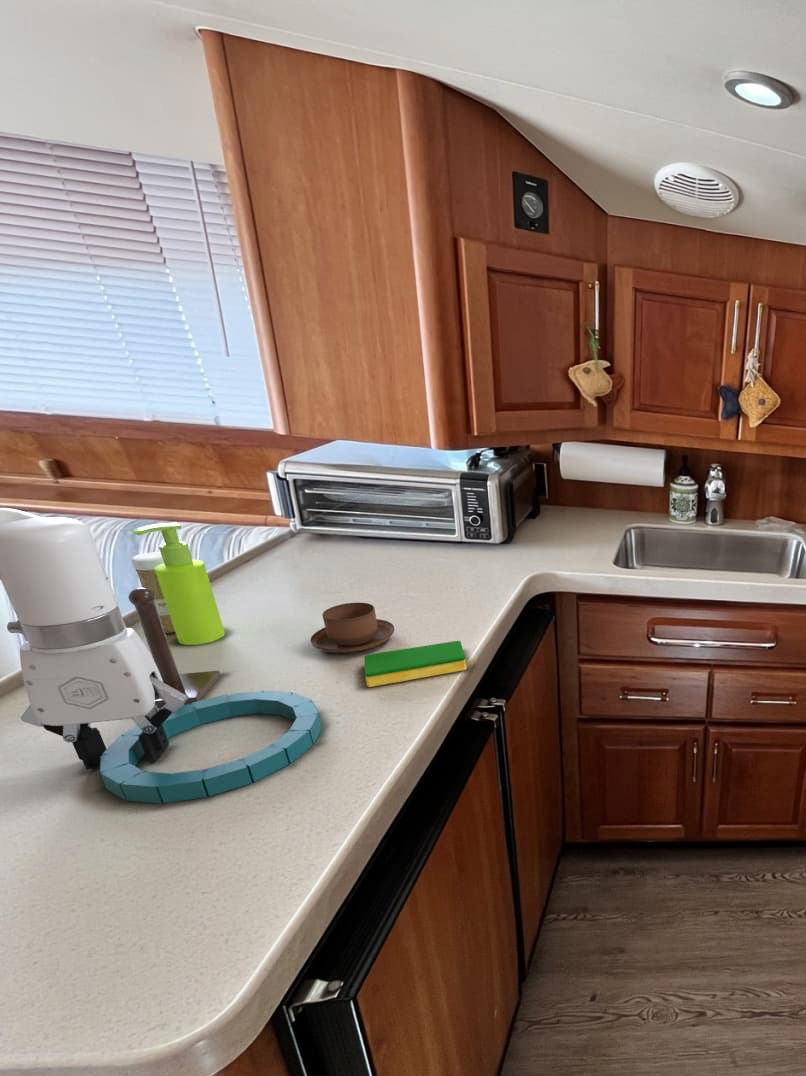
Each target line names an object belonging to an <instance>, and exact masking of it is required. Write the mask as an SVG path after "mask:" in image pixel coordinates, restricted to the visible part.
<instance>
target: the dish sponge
mask: <svg viewBox="0 0 806 1076" xmlns="http://www.w3.org/2000/svg"><path fill="white" fill-rule="evenodd" d="M466 670H467V660H466V655H465V652H464V649H463V645H462V641H461V640H454V641H447V642H446V641H445V642H441V643H434V644H427V645H421V646H416V647H409V648H403V649H396V650H390V651H384V652H377V653H370V654H366V655H364V677H365V683H366V686H367V687H369V688H371V687H377V686H378V687H379V686H383V685H388V684H395V683H400V682H406V681H411V680H417V679H423V678H427V677H433V676H439V675H443V674H444V675H445V674H451V673H455V672H460V671H466Z"/></svg>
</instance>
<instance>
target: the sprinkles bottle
mask: <svg viewBox="0 0 806 1076" xmlns="http://www.w3.org/2000/svg"><path fill="white" fill-rule="evenodd" d="M131 562H132V566H133V569H134V570H135V572H137V577H138V579H139V582H140V588H147V589H150V590H152V591H153V592H154V593H155V596H156V599H155V601H154V602H155V605H156V608H157V611H158V614H159V617H160V619H161V622H162V625H163V628H164V631H165V634H173V633H176V632H175V629H174V626H173V623H172V620H171V617H170V614H169V611H168V608H167V605H166V602H165V599H164V596H163V593H162V590H161V587H160V584H159V581H158V578H157V575H156V572H155V567H156V566H158V565H160V564H163V563H164V562H163V559H162V555H161V552H160V551H151V552H144V553H139V554H137V555H136V554H135V555H134V556H132V558H131Z"/></svg>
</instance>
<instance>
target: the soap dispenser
mask: <svg viewBox="0 0 806 1076" xmlns="http://www.w3.org/2000/svg"><path fill="white" fill-rule="evenodd" d="M177 530H182V526H181V524H179V523H178V522H165V523H155V524H149V525H145V526H141V527H138V528H135V529H132V530H131V532H132V533H133V534H134V535H137V536H142V535H144V534H148V533H154V532H161V535H162V538H163V541H164V542H163V543H161V544H159V546H158V548H159V552H161V555H162V559H163V562H164V563H163V564H160V565H158V566H156V567H155V572H156V575H157V578H158V581H159V584H160V587H161V590H162V593H163V596H164V599H165V602H166V605H167V608H168V611H169V614H170V617H171V620H172V623H173V626H174V629H175V632H174V633H175V635H176V638H177V641H178V643H179V644H181V645H184V646H197V645H203V644H208V643H212V642H215V641H217V640H220V639H221V638H223V637H224V636H225V635H226V633H225V628H224V626H223V622H222V619H221V618H222V617H221V614H220V611H219V609H218V605H217V602H216V601H217V600H216V598H215V595H214V592H213V588H212V584H211V582H210V578H209V575H208V571H207V568H206V565H205V562H204V561H203V560H201V559H193V557H192V554H191V550H190V547H189V544H188V543H187V542H185V541H182V540H180V538H179V536H178V531H177Z"/></svg>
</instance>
